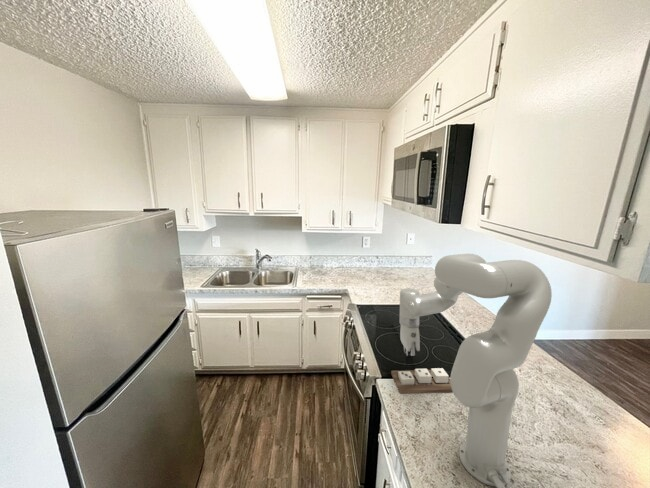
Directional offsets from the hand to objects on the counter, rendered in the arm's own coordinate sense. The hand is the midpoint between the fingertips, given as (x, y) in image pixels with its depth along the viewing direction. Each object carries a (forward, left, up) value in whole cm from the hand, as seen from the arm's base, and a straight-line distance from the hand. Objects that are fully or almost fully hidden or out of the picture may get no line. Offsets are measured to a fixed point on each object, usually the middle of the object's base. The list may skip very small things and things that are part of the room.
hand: (408, 363), depth 105 cm
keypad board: (+1, -7, -10) cm, 12 cm away
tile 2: (+1, -7, -8) cm, 11 cm away
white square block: (+1, 0, -9) cm, 9 cm away
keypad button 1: (+1, -14, -8) cm, 16 cm away
